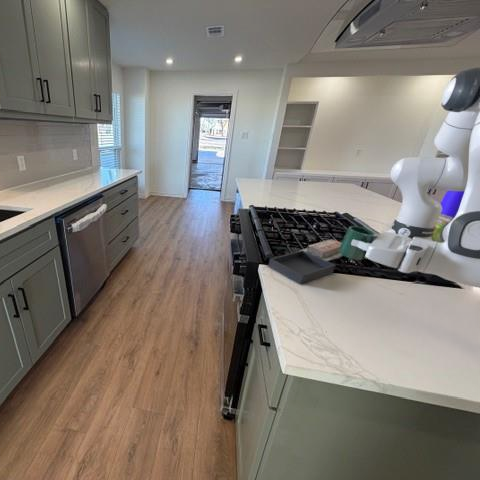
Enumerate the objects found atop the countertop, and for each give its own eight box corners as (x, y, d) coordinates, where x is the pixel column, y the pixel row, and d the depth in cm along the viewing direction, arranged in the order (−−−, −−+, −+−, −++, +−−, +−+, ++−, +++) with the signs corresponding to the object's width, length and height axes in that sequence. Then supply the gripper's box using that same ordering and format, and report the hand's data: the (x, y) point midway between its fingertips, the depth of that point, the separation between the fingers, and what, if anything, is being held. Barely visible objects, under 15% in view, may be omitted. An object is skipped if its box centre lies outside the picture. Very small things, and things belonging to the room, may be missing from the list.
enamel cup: (345, 248, 85) (356, 225, 82) (367, 257, 80) (380, 233, 76) (333, 251, 83) (344, 227, 79) (355, 261, 77) (367, 236, 73)
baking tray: (300, 256, 101) (302, 250, 100) (333, 272, 91) (335, 265, 90) (268, 265, 94) (269, 258, 92) (300, 284, 83) (302, 276, 82)
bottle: (441, 230, 136) (470, 173, 124) (454, 236, 129) (486, 176, 117) (423, 228, 138) (450, 172, 126) (434, 234, 130) (464, 175, 118)
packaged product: (327, 236, 110) (351, 244, 102) (323, 246, 112) (347, 255, 104) (301, 243, 102) (325, 253, 94) (298, 253, 104) (322, 264, 96)
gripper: (423, 234, 75) (366, 222, 84) (415, 253, 62) (350, 236, 72) (414, 253, 78) (360, 239, 87) (405, 275, 65) (343, 256, 74)
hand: (355, 238), depth 79 cm, fingers closed on enamel cup, 7 cm apart
